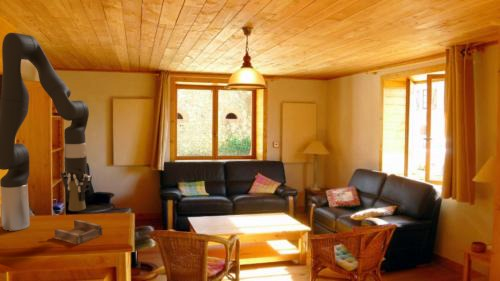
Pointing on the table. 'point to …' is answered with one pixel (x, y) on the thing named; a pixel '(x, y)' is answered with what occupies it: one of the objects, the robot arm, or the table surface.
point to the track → (79, 232)
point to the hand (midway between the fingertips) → (77, 200)
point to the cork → (75, 198)
